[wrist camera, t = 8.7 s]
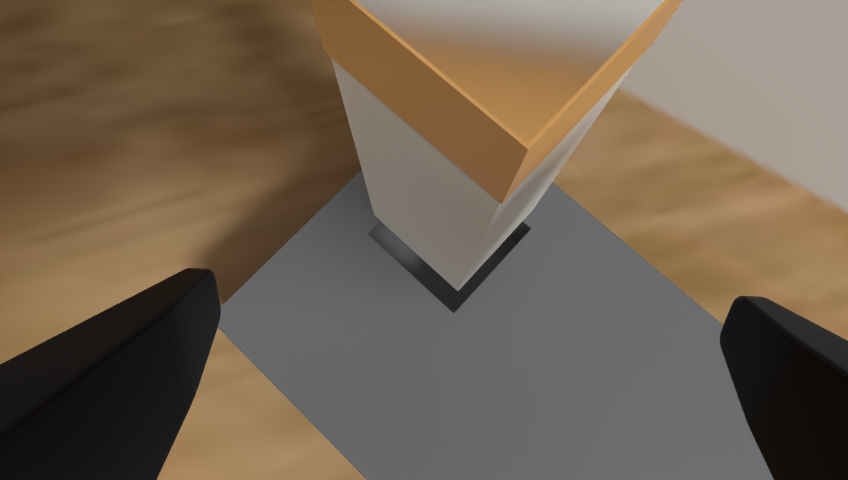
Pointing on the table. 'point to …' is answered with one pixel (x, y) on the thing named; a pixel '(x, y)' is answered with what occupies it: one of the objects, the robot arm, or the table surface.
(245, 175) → the table surface
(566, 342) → the socket block
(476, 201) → the plug
